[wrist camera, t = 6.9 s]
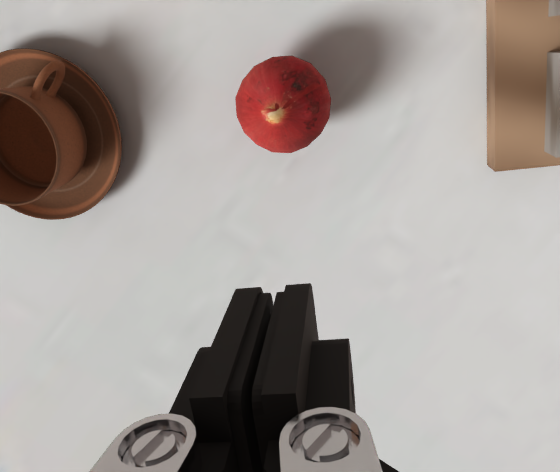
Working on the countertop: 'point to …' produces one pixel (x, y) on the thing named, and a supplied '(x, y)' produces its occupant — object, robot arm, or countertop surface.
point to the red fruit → (283, 104)
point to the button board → (523, 84)
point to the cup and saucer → (54, 136)
